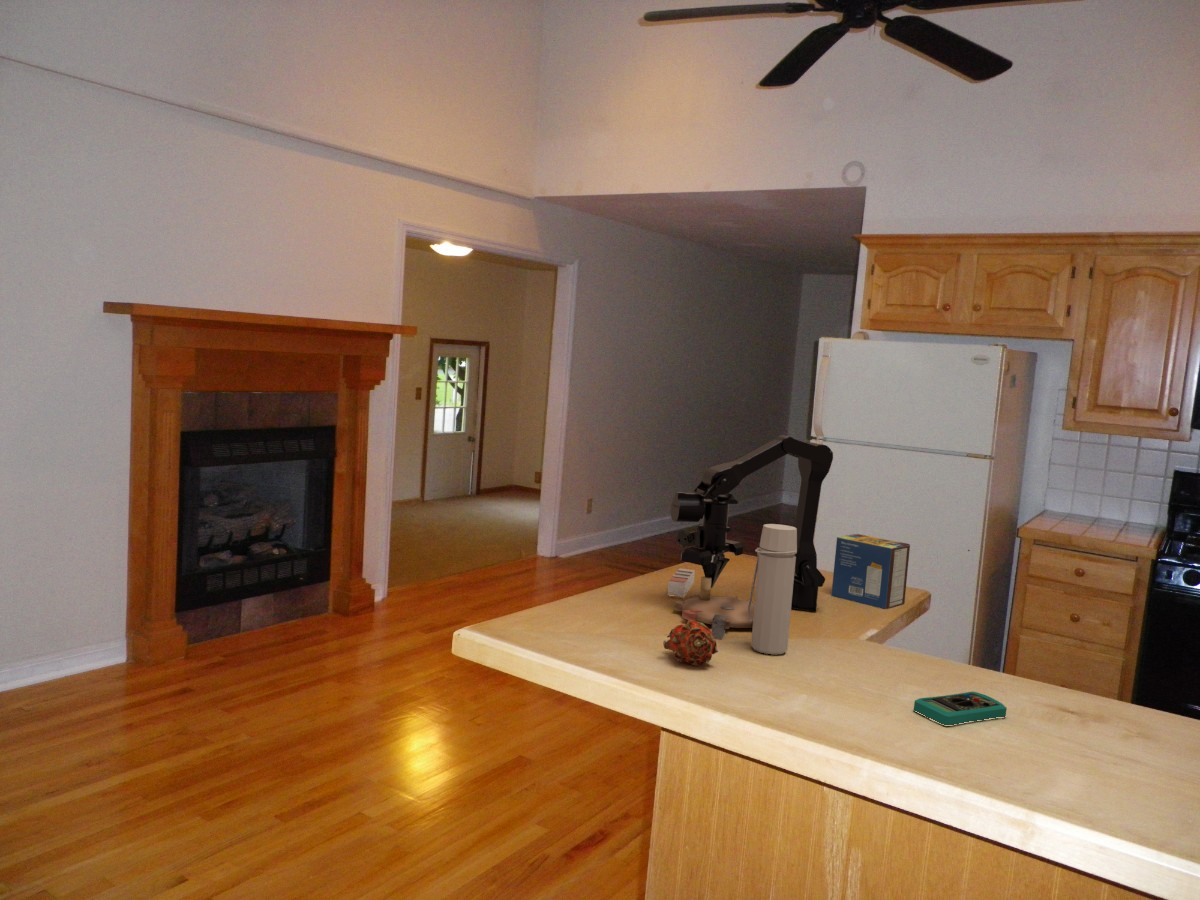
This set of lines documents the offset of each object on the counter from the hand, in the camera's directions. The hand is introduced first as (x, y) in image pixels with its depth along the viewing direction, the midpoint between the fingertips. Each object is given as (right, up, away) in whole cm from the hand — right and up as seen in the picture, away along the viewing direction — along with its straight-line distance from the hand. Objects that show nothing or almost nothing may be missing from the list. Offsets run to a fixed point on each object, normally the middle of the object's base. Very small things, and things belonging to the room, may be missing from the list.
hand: (709, 587), depth 210 cm
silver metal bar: (-5, -3, +16) cm, 17 cm away
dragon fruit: (-9, -8, -41) cm, 43 cm away
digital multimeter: (+35, -13, -59) cm, 69 cm away
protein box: (+43, -6, +20) cm, 48 cm away
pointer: (-1, -7, -23) cm, 24 cm away
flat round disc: (+3, -6, -9) cm, 11 cm away
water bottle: (+7, -8, -30) cm, 32 cm away
